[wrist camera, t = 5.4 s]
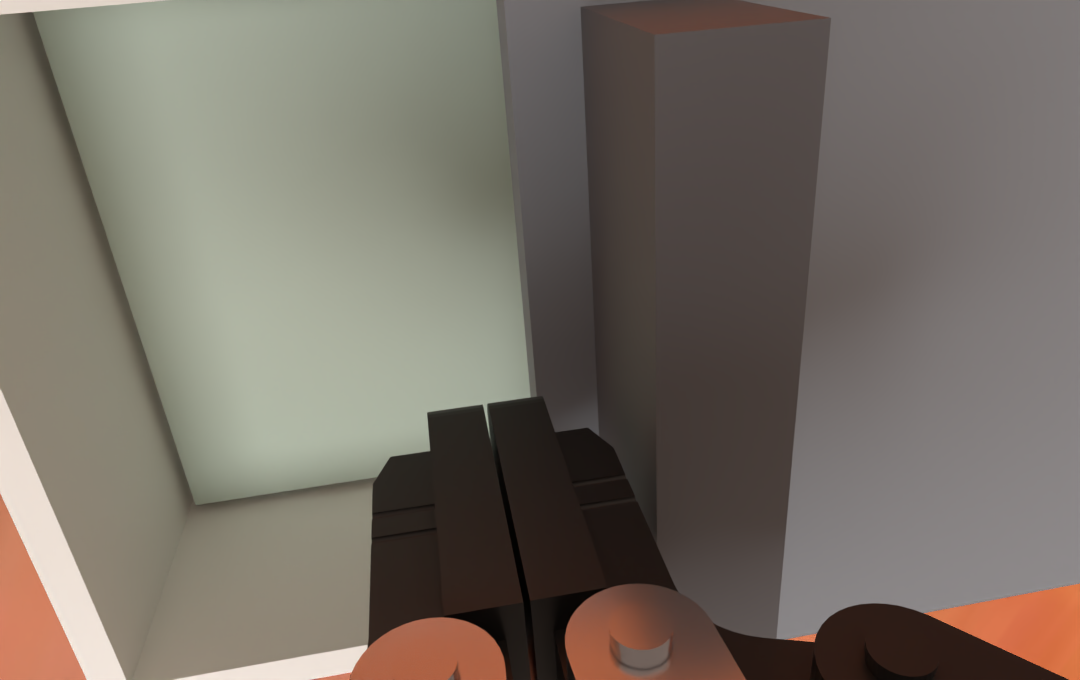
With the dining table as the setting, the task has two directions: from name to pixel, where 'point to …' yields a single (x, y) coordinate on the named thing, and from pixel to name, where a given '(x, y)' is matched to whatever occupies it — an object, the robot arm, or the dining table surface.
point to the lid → (811, 287)
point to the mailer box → (240, 308)
